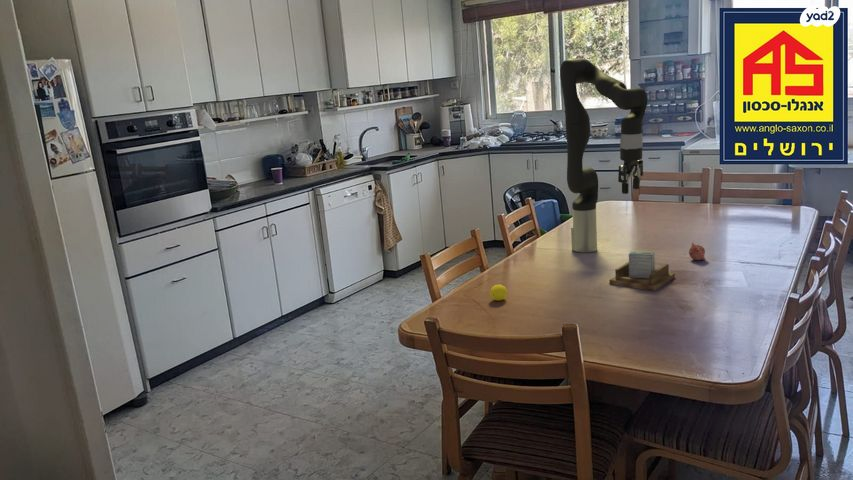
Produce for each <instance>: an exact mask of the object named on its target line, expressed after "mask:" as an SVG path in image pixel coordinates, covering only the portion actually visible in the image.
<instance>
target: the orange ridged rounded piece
mask: <svg viewBox="0 0 853 480" xmlns="http://www.w3.org/2000/svg"><path fill="white" fill-rule="evenodd" d="M705 254H706V250H705V247H703V246H702V245H699V244H695V243H694V242H691V247H690V248H689V250H688V255H689V257H690V258H691V259H692V260H694V261H700V260H704V261H706V260H707V259H706V257H705Z"/></svg>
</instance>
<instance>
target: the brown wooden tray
mask: <svg viewBox="0 0 853 480" xmlns="http://www.w3.org/2000/svg"><path fill="white" fill-rule="evenodd" d="M669 267H670V266H669V263H664V264H663V265H661V266H660V267H658V268H655V271H653V272H652V273H650V274H649V279H648V278H629V261H627V262H625V263H624V264H623V265H620V266H618V267H616V268H615V269H614V270H615V276H614V277H612V278H609V285H613V286H614V285H615V286H620V287H627V288H634V289H639V290H645V291H646V290H647V291H653V292H656V291H657V290H658V289H660V288H662V287H663V286H665V285H666V284H668V283H669V282H670V281H671V280H673V279H674V278H675V276H676V273H675V272H670V271H669V269H670V268H669Z"/></svg>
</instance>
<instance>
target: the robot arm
mask: <svg viewBox="0 0 853 480" xmlns="http://www.w3.org/2000/svg"><path fill="white" fill-rule="evenodd" d="M559 70H560V71H559V74H560V75H559V76H560V77H559V78H560V84H561V85H560V86H561V90H562V91H561V92H562V95H563V105H564V116H565V118H564V119H565V122H564V124H565V136H566V154H567V164H566V184H567V187H568V189H569V191H570V192H571V193H572V194H579V195H578V197H577V198H576V199H575V200H574V201H573V202H571V203H572V207H571V208H572V227H570V235H571V239H570V242H571V251H574V252H576V253H580V254H581V253H582V254H583V253H586V254H587V253H589V254H590V253H593V252H596V251H597V250H598V234H597V233H598V231H597V228H598V227H597V223H598V222H597V204H598V201H599V177H598V173H597V172H596V170H595V169H594V168H592V167H583V158H584V154H585V150H586V149H587V148H586V147H587V146H588V143H589V140H590V138H591V121H590V120H591V119H590V115H589V114H588V111H587V109H586V108H585V106H584V105H583V104H582V101H581V100H580V99H579V94H578V89H577V84H583V83H587V84H592V85H594V87H595V89H596V91H597V92H598V94H600V95H601V96H602V97H605V98H607V99H609V100H611V102H612V103H613V104H614V105H615V106H616V107H617V108H619V109H621V110H623V111H628V110H630V111H629V114H628V115H626V116H624V117H623V118H621V123H620V124H621V125H620V129H621V130H620V131H621V132H620V138H619V139H620V141H619V142H620V143H619V144H620V145H619V146H620V147H619V148H620V149H619V151H620V152H619V154H620V155H619V159H620V160H621V161H623V164H620V165H618V175H617V176H618V180H617V181H618V183H620V184H621V193H622V194H623V195H628V194H629V192H630V191H629V189H630V188H629V187H630V186H629V184H630V183H629V182H630V179H631V178H632V189H633V190H639V189H640V185H641V183H640V179H642V178H641V177H643V175H644V161H643V142H644V140H643V139H644V138H643V119H644V117H645V113H646V109H647V106H648V100H649V99H648V94H647V92H646V90H645V89H644V88H642V87H635V88H627V85H626V84H625V83H624V82H622V81H621V80H618V79H616V78H614V77H612V76H611V75H608V74H606V73H605V72H604V71H602V69H600V68H599V67H597V66H596V65H595V64H593V63H592V61H590V60H588V59H586V58H584V57H583V58H581V57H580V58H570V59H565V60H564V61H562V62H561V65H560V69H559Z"/></svg>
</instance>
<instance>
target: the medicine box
mask: <svg viewBox="0 0 853 480" xmlns="http://www.w3.org/2000/svg"><path fill="white" fill-rule="evenodd" d="M655 261H656V260H655V251H654V250H630V252H629V253H628V262H629V278H648V279H649V274H650V273H652V272H653V271H655V269H656V268H655V265H656V264H655Z"/></svg>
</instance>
